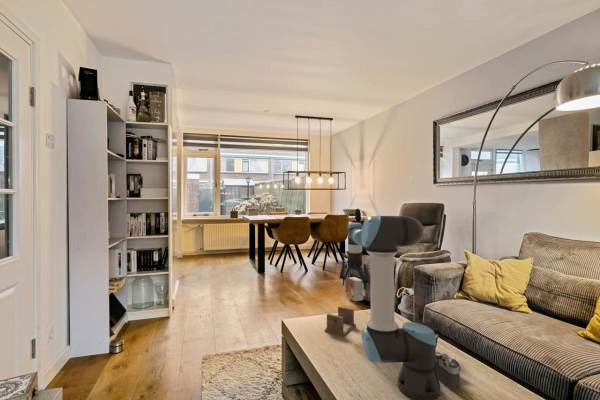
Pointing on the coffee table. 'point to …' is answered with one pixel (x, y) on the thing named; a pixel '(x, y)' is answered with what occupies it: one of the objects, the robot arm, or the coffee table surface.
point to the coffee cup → (434, 328)
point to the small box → (354, 289)
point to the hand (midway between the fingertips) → (354, 293)
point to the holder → (341, 321)
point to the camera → (447, 370)
